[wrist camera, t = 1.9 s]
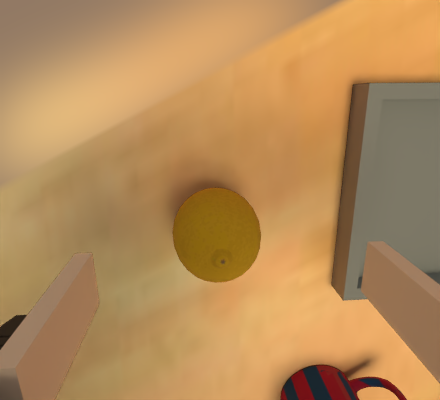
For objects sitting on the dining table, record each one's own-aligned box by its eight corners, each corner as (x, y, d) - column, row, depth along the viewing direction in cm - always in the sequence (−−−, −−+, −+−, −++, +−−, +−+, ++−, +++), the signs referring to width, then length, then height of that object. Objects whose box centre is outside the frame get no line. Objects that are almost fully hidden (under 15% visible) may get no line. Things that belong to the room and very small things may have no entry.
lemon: (237, 250, 26) (258, 314, 18) (168, 237, 25) (159, 298, 17) (257, 185, 24) (288, 224, 16) (184, 168, 23) (181, 201, 16)
